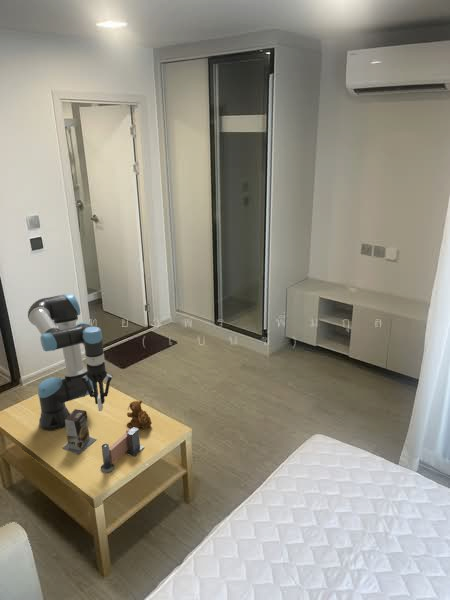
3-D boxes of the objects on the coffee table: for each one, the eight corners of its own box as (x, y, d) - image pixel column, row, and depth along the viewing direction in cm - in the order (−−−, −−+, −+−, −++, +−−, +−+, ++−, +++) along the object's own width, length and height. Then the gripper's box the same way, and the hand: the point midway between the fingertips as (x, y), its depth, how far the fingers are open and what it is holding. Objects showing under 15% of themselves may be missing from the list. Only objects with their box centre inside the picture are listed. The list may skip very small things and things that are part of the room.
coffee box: (80, 450, 210) (76, 421, 204) (68, 448, 211) (64, 419, 206) (90, 438, 218) (86, 410, 212) (78, 436, 219) (74, 408, 214)
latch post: (124, 453, 209) (122, 433, 205) (133, 444, 215) (132, 425, 211) (134, 456, 206) (133, 437, 202) (144, 447, 212) (142, 428, 208)
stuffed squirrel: (138, 415, 237) (137, 394, 232) (157, 425, 229) (156, 403, 224) (124, 424, 229) (122, 402, 225) (143, 435, 221) (141, 412, 217)
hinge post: (97, 470, 198) (95, 448, 194) (106, 462, 203) (104, 440, 199) (108, 474, 195) (105, 452, 191) (117, 466, 201) (115, 444, 196)
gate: (112, 464, 200) (110, 448, 197) (109, 462, 201) (107, 447, 198) (133, 444, 213) (132, 429, 210) (130, 443, 214) (128, 428, 211)
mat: (62, 448, 212) (62, 447, 212) (80, 434, 222) (80, 433, 222) (78, 454, 208) (78, 454, 207) (96, 439, 218) (96, 439, 218)
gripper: (77, 367, 187) (84, 414, 196) (109, 366, 188) (114, 413, 196) (82, 358, 194) (87, 405, 203) (112, 357, 195) (117, 404, 203)
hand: (100, 409), depth 200 cm, fingers closed
